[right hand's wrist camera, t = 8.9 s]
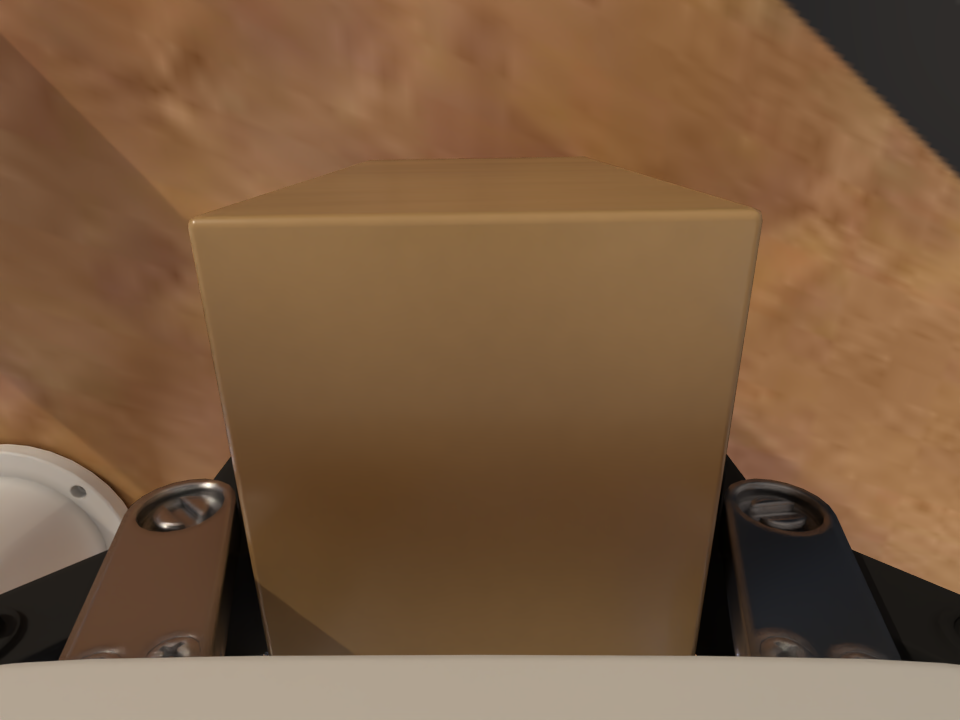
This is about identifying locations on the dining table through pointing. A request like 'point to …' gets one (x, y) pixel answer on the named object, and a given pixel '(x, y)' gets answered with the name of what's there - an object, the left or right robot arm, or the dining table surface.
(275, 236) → the post
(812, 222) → the dining table surface
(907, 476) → the dining table surface
